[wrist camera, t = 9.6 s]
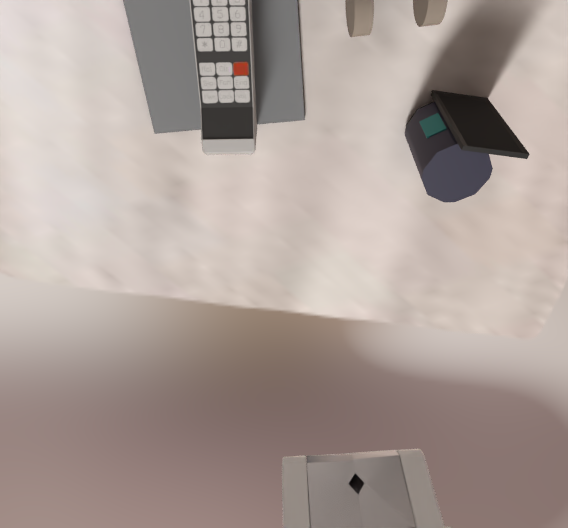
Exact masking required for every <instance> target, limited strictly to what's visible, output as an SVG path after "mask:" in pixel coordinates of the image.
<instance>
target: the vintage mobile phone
mask: <svg viewBox="0 0 568 528" xmlns="http://www.w3.org/2000/svg"><path fill="white" fill-rule="evenodd" d="M189 3H190V13H191V23H192V32H193V42H194V52H195V62H196V71H197V81H198V91H199V101H200V115H201V140H202V150H203V152H204V153H205V154H206V155H243V154H253V153H254V152H255V146H256V134H257V117H256V92H255V67H254V42H253V17H252V0H189Z"/></svg>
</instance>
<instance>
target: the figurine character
mask: <svg viewBox="0 0 568 528" xmlns="http://www.w3.org/2000/svg"><path fill="white" fill-rule="evenodd" d="M446 7H447V0H413V9H414V16H415V20H416V23H417V25H418V26H419V27H421V26H429V25H438V24H440V23H441V22H442V20H443V18H444V15H445V11H446ZM373 13H374V0H346V18H347V26H348V32H349V35H350V37H355V36H364V35H370V33H371V30H372V25H373Z"/></svg>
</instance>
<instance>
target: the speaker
mask: <svg viewBox="0 0 568 528" xmlns="http://www.w3.org/2000/svg"><path fill="white" fill-rule="evenodd" d="M431 96H432V97H433V99H434V101H435V102H433V103H431V104H429V105H426V106H424V107H422V108H420V109H418V110H417V111H416V112H415V114H414V115H413V117H412V118H411V120H410V121H409V122H408V124H407V125H406V130H405V136H406V139H407V142H408V144H409V147H410V150H411V152H412V155H413V158H414V160H415V163H416V166H417V168H418V171H419V174H420V176H421V179H422V181H423V184H424V187H425V189H426V192H427V194H428V195H429V196H432V197H434V198H436V199H438V200H440V201H443V202H456V201H459V200H461V199H464V198H466V197H469V196H472V195H474V194H476V193H477V191H478V190H479V189H480V188H481V187H482V186H483V185H484V184H485V183H486V182H487V180H488V179H489V178H490V175H491V172H492V169H493V168H492V165H491V161H490V157H489V154H494V155H502V156H509V157H517V158H524V159H527V158H528V156H529V153H528V151H527V150H526V149H525V147H524V146H523V145H522V143H521V142H520V141H519V139H518V138H517V137H516V136H515V134H514V133H513V132H512V130H511V129H510V128H509V126H508V125H507V124H506V122H505V121H504V120H503V118H502V117H501V116H500V114H499V113H498V112H497V110H496V109H495V108H494V106H493V105H492V104H491V102H490V101H489V100H488V98H482V97H475V96H468V95H461V94H454V93H447V92H440V91H433V90H432V93H431Z"/></svg>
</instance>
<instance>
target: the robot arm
mask: <svg viewBox="0 0 568 528" xmlns="http://www.w3.org/2000/svg"><path fill="white" fill-rule="evenodd" d="M306 457H307V463H306ZM282 501H283V528H452V527H445V526H444V523H443V519H442V516H441V512H440V509H439V505H438V502H437V498H436V495H435V491H434V488H433V484H432V481H431V477H430V474H429V470H428V467H427V463H426V460H425V456H424V454H423V453H422V451H421V450H420V449H410V450H409V449H408V450H386V451H373V452H360V453H351V454H334V455H314V456H291V457H283V462H282Z"/></svg>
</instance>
